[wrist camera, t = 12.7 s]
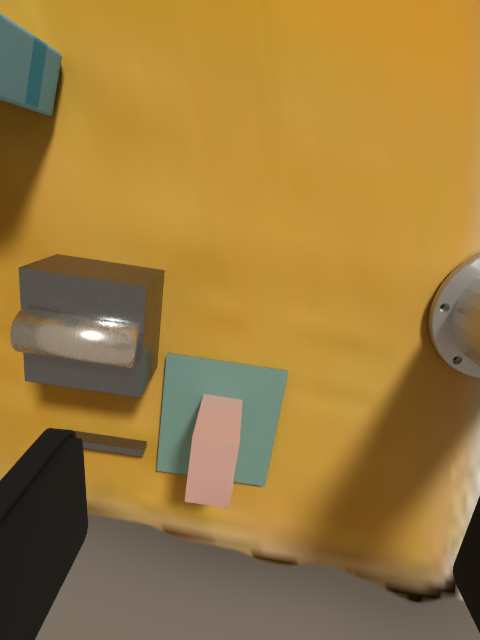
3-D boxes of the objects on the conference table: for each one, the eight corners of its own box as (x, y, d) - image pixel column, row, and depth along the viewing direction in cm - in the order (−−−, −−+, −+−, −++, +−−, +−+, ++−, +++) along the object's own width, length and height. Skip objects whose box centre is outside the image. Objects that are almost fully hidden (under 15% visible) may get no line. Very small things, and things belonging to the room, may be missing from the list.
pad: (287, 370, 38) (287, 374, 37) (264, 481, 43) (264, 486, 42) (168, 352, 38) (166, 356, 37) (158, 465, 43) (156, 470, 42)
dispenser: (164, 270, 35) (138, 294, 28) (150, 448, 42) (126, 507, 34) (57, 254, 35) (0, 273, 27) (60, 435, 42) (16, 491, 34)
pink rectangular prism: (243, 399, 39) (240, 444, 32) (233, 456, 41) (229, 508, 34) (202, 393, 38) (191, 437, 32) (195, 450, 41) (183, 501, 34)
